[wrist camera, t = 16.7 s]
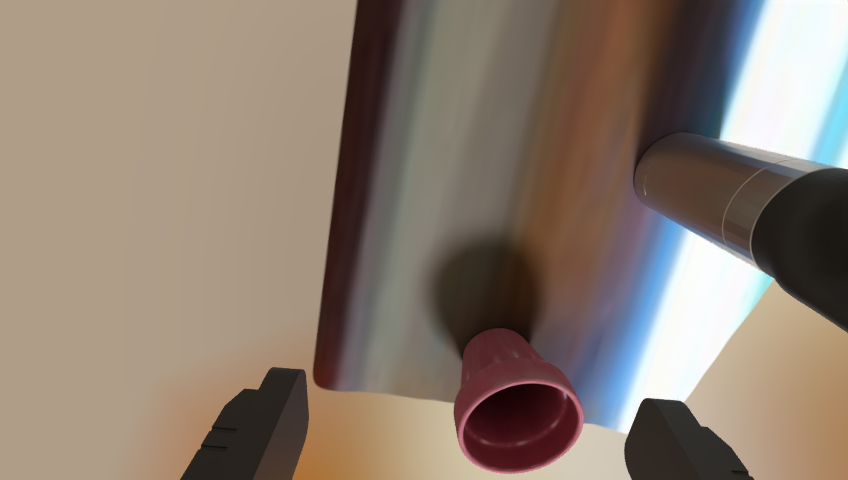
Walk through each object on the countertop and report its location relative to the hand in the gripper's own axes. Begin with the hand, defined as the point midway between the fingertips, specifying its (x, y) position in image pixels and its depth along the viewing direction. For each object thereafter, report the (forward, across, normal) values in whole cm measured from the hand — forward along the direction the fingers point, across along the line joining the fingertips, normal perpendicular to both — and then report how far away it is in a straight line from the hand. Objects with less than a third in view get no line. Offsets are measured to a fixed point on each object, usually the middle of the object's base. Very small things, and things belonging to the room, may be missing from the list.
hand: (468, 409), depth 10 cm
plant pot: (+38, -9, +30) cm, 49 cm away
